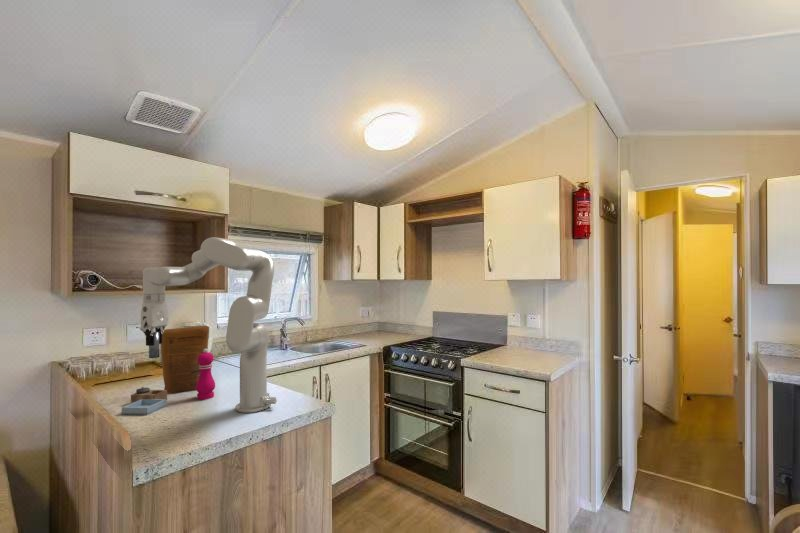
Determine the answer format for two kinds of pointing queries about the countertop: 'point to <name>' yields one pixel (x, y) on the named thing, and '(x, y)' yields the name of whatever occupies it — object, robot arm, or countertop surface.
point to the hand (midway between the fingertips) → (154, 344)
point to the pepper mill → (205, 376)
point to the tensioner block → (148, 394)
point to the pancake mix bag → (182, 357)
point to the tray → (144, 406)
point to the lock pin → (154, 346)
